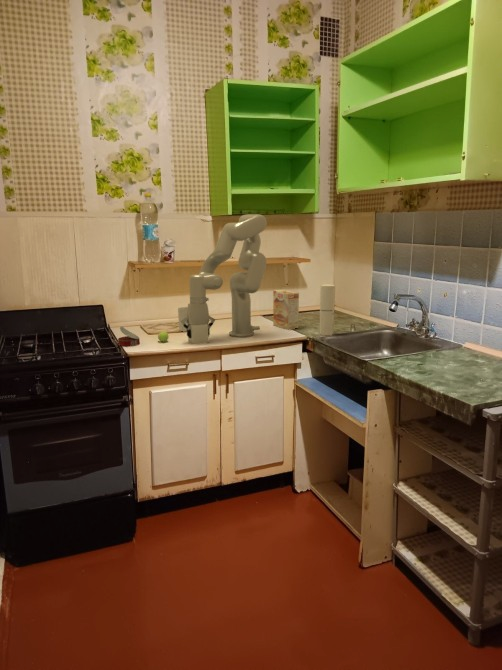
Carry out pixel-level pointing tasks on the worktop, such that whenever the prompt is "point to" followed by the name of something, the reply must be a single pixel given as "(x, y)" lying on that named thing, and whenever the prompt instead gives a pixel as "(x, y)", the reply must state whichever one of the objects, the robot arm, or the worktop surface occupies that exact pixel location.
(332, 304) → the cylindrical container
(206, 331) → the grey piece
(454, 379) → the worktop surface
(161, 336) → the ball
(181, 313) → the mug
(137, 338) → the canned food
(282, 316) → the coffeecake box
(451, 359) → the worktop surface
